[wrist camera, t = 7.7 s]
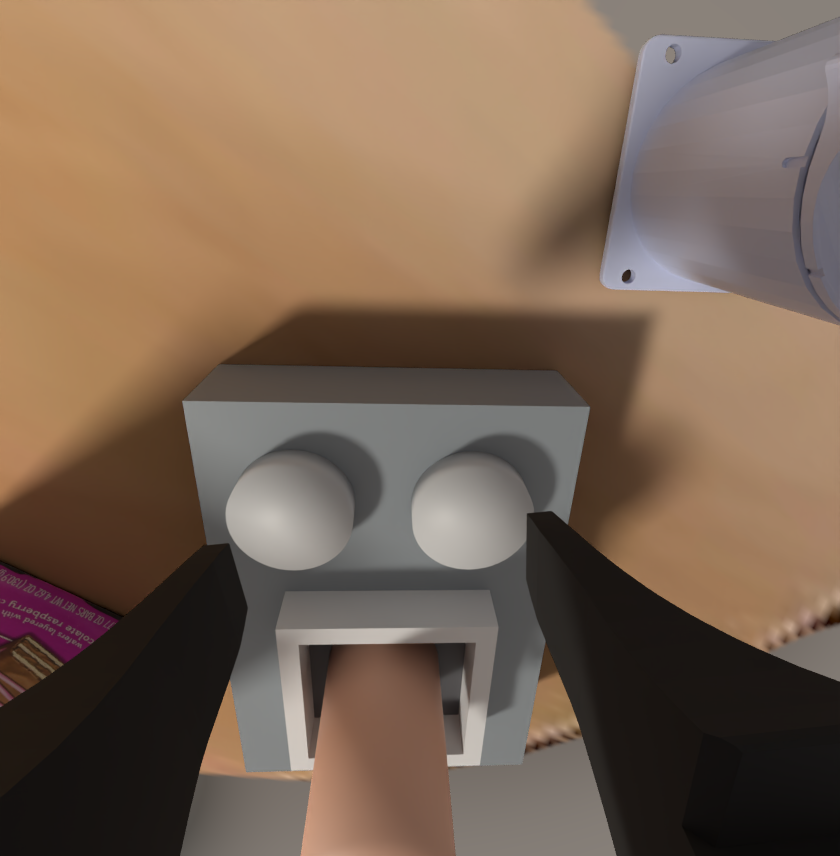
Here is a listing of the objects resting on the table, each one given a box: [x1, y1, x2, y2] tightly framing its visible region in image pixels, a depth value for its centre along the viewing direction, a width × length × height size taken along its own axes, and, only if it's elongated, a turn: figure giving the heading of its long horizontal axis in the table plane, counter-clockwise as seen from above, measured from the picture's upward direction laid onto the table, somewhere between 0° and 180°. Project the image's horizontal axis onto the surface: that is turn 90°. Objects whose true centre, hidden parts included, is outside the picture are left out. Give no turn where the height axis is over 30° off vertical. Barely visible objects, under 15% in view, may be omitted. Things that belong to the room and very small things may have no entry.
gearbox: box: [182, 364, 590, 772], centre depth 23 cm, size 14×20×6 cm
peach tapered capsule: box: [301, 643, 456, 856], centre depth 19 cm, size 5×7×8 cm
